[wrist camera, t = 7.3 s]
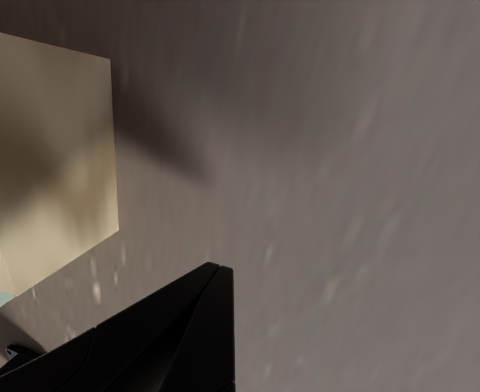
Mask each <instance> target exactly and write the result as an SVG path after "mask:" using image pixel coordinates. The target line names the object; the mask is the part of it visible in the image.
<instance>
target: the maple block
mask: <svg viewBox="0 0 480 392" xmlns="http://www.w3.org/2000/svg"><path fill="white" fill-rule="evenodd" d="M117 231H119V227H118V207H117V187H116V167H115V146H114V126H113V106H112V86H111V66H110V59H107V58H103V57H99V56H95V55H91V54H87V53H82V52H78V51H74V50H70V49H66V48H62V47H58V46H54V45H50V44H45V43H41V42H37V41H33V40H29V39H25V38H21V37H17V36H12V35H8V34H4V33H0V291H2V292H5V293H7V294H9V295H12V296H14V297H17V296H19V295H20V294H22V293H23V292H25V291H26V290H28V289H29V288H31V287H32V286H34V285H36V284H37V283H39V282H40V281H42V280H43V279H45V278H46V277H48V276H49V275H51V274H52V273H54V272H56V271H57V270H59V269H60V268H62V267H63V266H65V265H66V264H68V263H69V262H71V261H72V260H74V259H76V258H77V257H79V256H80V255H82V254H83V253H85V252H86V251H88V250H89V249H91V248H92V247H94V246H96V245H97V244H99V243H100V242H102V241H103V240H105V239H106V238H108V237H109V236H111V235H112V234H114V233H116V232H117Z"/></svg>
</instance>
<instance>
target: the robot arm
mask: <svg viewBox="0 0 480 392" xmlns="http://www.w3.org/2000/svg"><path fill="white" fill-rule="evenodd" d="M5 352H6V355H7V357H8V360H9V361H8V362H7V363H6V364H5V365H3V366H2V367H1V368H0V392H236V387H235V338H234V279H233V269H232V268H229V267H226V266H220V265H219V264H215V263H212V262H206V263H204V264H203V265H201V266H199V267H197V268H196V269H194V270H192V271H191V272H189V273H187V274H185V275H184V276H182V277H180V278H178V279H177V280H175V281H173V282H171V283H170V284H168V285H166V286H164V287H163V288H161V289H159V290H157V291H156V292H154V293H152V294H150V295H149V296H147V297H145V298H143V299H142V300H140V301H138V302H136V303H135V304H133V305H131V306H129V307H128V308H126V309H124V310H123V311H121V312H119V313H117V314H116V315H114V316H112V317H110V318H109V319H107V320H105V321H103V322H102V323H100V324H98V325H97V326H96V328H95V327H93V328H91V329H89V330H87V331H86V332H84V333H82V334H80V335H79V336H77V337H75V338H73V339H72V340H70V341H68V342H66V343H64V344H62V345H61V346H59V347H57V348H55V349H53V350H51V351H50V352H48V353H46V354H44V355H42V356H38V355H36V354H34V353H31V352H29V351H27V350H25V349H22V348H20V347H18V346H16V345H13V344H10V345H9V346H7V347H6V348H5Z"/></svg>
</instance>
